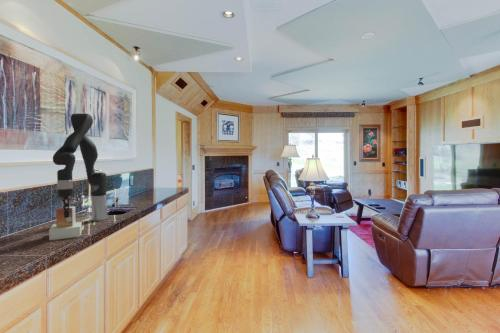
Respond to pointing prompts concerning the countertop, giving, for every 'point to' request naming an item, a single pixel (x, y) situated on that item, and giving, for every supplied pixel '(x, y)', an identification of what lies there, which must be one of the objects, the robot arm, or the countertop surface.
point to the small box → (65, 221)
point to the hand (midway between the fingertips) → (66, 216)
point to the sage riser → (65, 231)
